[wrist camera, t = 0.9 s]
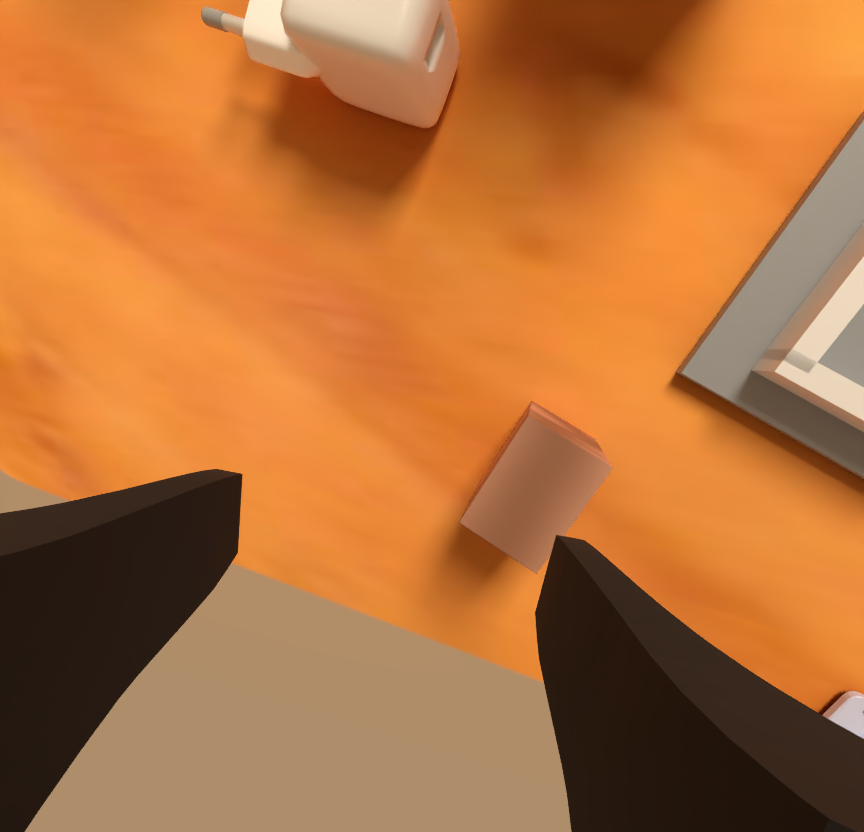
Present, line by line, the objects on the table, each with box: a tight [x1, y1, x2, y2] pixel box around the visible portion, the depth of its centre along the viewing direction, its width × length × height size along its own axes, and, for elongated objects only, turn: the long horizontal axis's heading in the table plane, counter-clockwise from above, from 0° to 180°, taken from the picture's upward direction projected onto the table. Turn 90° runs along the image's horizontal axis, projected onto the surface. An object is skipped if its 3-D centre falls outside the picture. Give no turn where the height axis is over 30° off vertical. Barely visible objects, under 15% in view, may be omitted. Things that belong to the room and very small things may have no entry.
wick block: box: [459, 401, 613, 574], centre depth 20 cm, size 4×5×6 cm
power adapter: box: [201, 0, 461, 128], centre depth 20 cm, size 11×5×6 cm, turn 67°
